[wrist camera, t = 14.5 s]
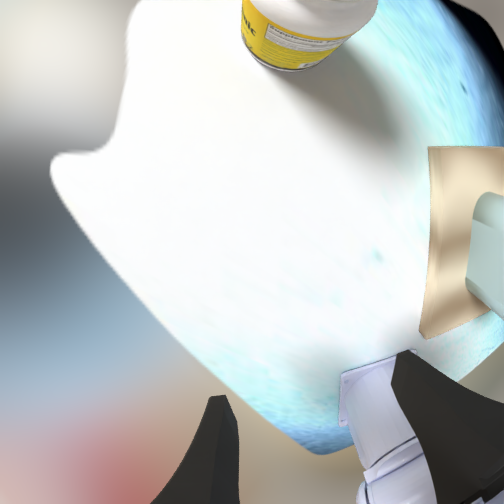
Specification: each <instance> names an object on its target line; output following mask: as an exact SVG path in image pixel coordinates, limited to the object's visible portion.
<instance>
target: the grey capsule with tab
mask: <svg viewBox="0 0 504 504" xmlns="http://www.w3.org/2000/svg"><path fill="white" fill-rule="evenodd" d="M465 285H466V288H467V289H468V290H469V291H470V292H471V293H472V294H474V295H475V296H476V297H477V298H478V299H480V300H481V301H482V302H483V303H484V304H486V305H487V306H488V307H489V308H490V309H491V310H493V311H494V312H495V313H496V314H497V315H498V316H499V317H501V318H502V319H503V320H504V196H502V195H499V194H496V193H493V192H490V191H489V192H485V193H483V194H482V195H481V196H480V198H479V199H478V201H477V203H476V205H475V208H474V212H473V218H472V231H471V241H470V250H469V257H468V264H467V271H466V277H465Z"/></svg>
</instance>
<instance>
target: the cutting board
mask: <svg viewBox="0 0 504 504" xmlns="http://www.w3.org/2000/svg"><path fill="white" fill-rule="evenodd" d="M428 154H429V168H430V194H431V219H430V245H429V259H428V270H427V280H426V288H425V296H424V303H423V309H422V315H421V321H420V327H419V332H420V333H421V334H422V335H423V336H424V338H425V339H426V340H428V339H431V338H433V337H435V336H438V335H440V334H442V333H445V332H447V331H449V330H451V329H454V328H456V327H458V326H460V325H462V324H464V323H466V322H468V321H470V320H473V319H475V318H477V317H479V316H480V315H482V314H484V313H486V312H488V311H490V310H491V309H490V308H489V307H488V306H487V305H486V304H484V303H483V302H482V301H481V300H480V299H478V298H477V297H476V296H475V295H474V294H472V293H471V292H470V291H469V290H468V289H467V288H466V285H465V277H466V271H467V264H468V257H469V250H470V241H471V231H472V218H473V212H474V208H475V205H476V203H477V201H478V199H479V198H480V196H481V195H482V194H483V193H485V192H489V191H490V192H493V193H496V194H499V195H502V196H504V147H495V146H432V147H428Z"/></svg>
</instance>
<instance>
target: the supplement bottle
mask: <svg viewBox="0 0 504 504" xmlns="http://www.w3.org/2000/svg"><path fill="white" fill-rule="evenodd" d="M377 4H378V0H242V19H241V35H242V39H243V43H244V45H245V47H246V48H247V50H248V51H249V53H250V54H251V55H252V56H253V57H254V58H255V59H256V60H258V61H259V62H261V63H262V64H264V65H266V66H268V67H271V68H273V69H277V70H281V71H288V72H294V71H302V70H306V69H309V68H311V67H314V66H315V65H317V64H319V63H320V62H321V61H322V60H324V59H325V58H326V57H327V56H328V55H330V54H331V53H332V52H333V51H334V50H335V49H337V48H338V47H339V46H340V45H341V44H342V43H344V42H345V41H346V40H347V39H349V38H350V37H351V36H352V35H354V34H355V33H356V32H357V31H359V30H360V29H361V28H362V27H364V26H365V25H366V24H367V23H368V22H369V21H370V20H371V18H372V17H373V15H374V14H375V11H376V8H377Z"/></svg>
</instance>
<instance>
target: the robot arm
mask: <svg viewBox="0 0 504 504" xmlns="http://www.w3.org/2000/svg"><path fill="white" fill-rule="evenodd" d="M338 425H339V427H343V426H347V425H348V427H349V430H350V433H351V436H352V439H353V441H354V444H355V447H356V450H357V453H358V456H359V458H360V461H361V463H362V465H363V467H364V468H365V469H366V470H367V471H365V472H363V473H364V476H365V479H366V480H365V481H363V482H362V483H361V484H360V486H359V490H358V492H357V497H356V502H357V504H504V403H500V402H498V401H494V400H492V399H489V398H487V397H484V396H482V395H480V394H477V393H475V392H473V391H471V390H469V389H467V388H465V387H463V386H462V385H460V384H458V383H457V382H455V381H453V380H452V379H450V378H449V377H447V376H446V375H444V374H443V373H441V372H440V371H438V370H437V369H435V368H434V367H432V366H431V365H430V364H428V363H427V362H425V361H424V360H423V359H421V358H420V357H419V356H417V351H416V350H415V349H413V350H406V351H403V352H400V353H398V354H397V355H396V356H394V357H391V358H388V359H385V360H382V361H379V362H376V363H373V364H370V365H367V366H364V367H360V368H357V369H354V370H350V371H347V372H344V373H343V374H342V375H341V377H340V399H339V416H338ZM238 481H239V435H238V426H237V420H236V418H235V416H234V414H233V411H232V409H231V406H230V404H229V402H228V400H227V398H226V395H220V396H211V397H210V398H209V400H208V403H207V406H206V409H205V412H204V415H203V417H202V420H201V422H200V425H199V428H198V430H197V432H196V434H195V436H194V439H193V441H192V443H191V445H190V447H189V449H188V451H187V453H186V455H185V456H184V458H183V460H182V462H181V463H180V465H179V467H178V468H177V470H176V472H175V473H174V475H173V476H172V478H171V479H170V480H169V482H168V483H167V484H166V486H165V487H164V488H163V490H162V491H161V492H160V493H159V495H158V496H157V497H156V498H155V499H154V500H153V501H152V502H151V503H150V504H240V501H239V488H238Z"/></svg>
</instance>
